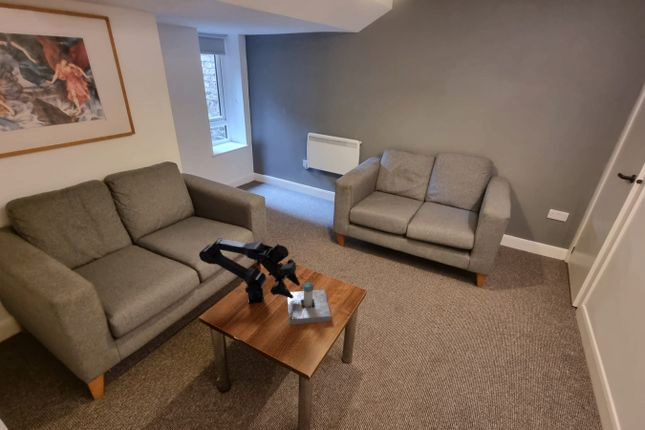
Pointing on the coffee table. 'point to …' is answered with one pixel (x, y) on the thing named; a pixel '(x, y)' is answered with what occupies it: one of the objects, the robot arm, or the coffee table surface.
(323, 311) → the housing
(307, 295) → the plug
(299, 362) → the coffee table surface
